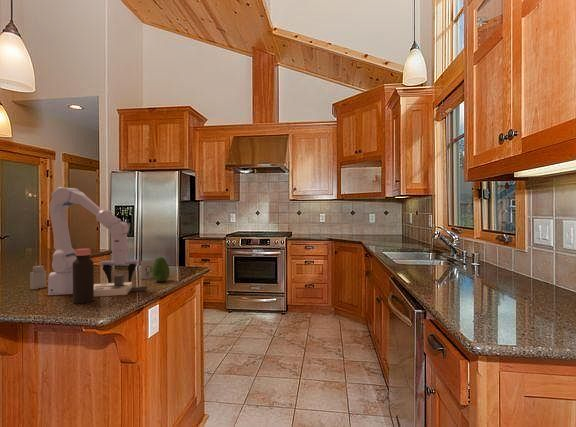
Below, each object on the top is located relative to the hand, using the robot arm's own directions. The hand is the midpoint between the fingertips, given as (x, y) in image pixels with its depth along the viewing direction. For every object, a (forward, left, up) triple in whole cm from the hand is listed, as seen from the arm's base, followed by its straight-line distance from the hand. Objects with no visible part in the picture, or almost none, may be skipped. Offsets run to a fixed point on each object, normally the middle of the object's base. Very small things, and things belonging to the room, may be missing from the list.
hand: (119, 282), depth 139 cm
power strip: (0, 0, -4) cm, 4 cm away
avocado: (+15, +15, -4) cm, 21 cm away
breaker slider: (0, 0, -1) cm, 1 cm away
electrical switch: (+9, +26, -4) cm, 28 cm away
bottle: (-10, -12, -4) cm, 17 cm away
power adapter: (-36, +16, -4) cm, 40 cm away
